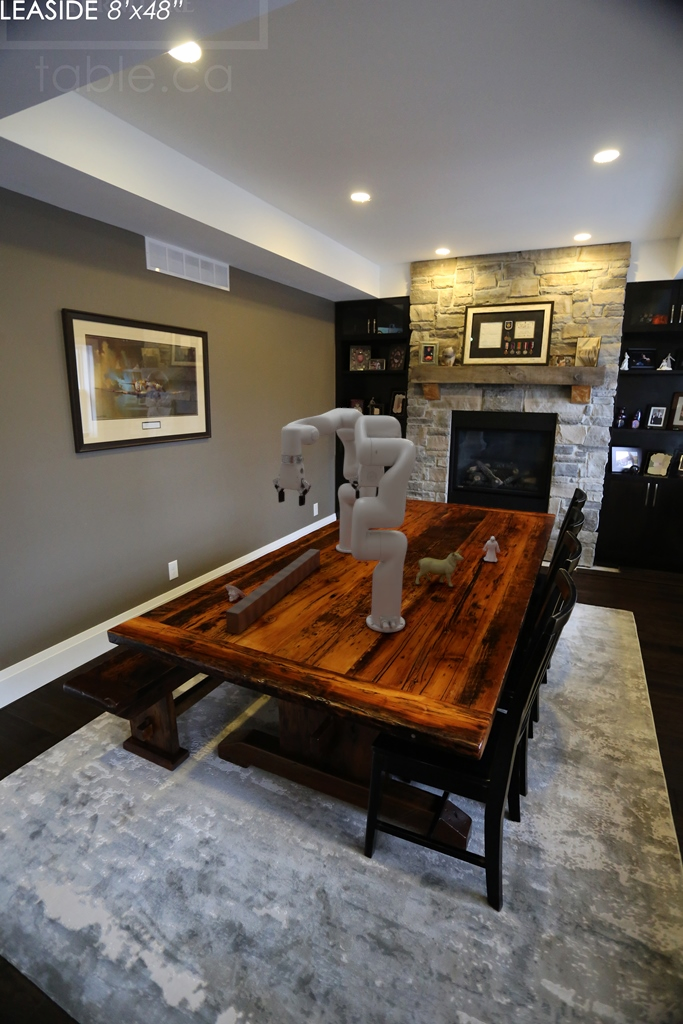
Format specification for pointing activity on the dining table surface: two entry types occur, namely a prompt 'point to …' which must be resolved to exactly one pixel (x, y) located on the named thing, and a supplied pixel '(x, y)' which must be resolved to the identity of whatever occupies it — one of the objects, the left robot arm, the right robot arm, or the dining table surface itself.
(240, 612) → the beam
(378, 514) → the right robot arm
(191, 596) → the dining table surface
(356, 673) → the dining table surface
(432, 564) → the toy
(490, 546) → the figurine
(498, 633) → the dining table surface
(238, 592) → the seashell
